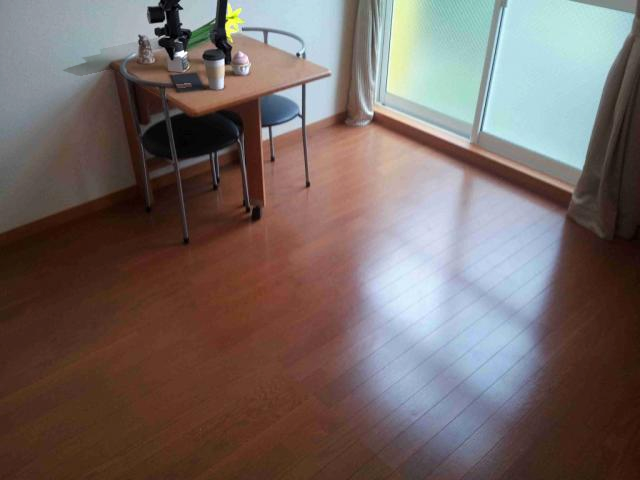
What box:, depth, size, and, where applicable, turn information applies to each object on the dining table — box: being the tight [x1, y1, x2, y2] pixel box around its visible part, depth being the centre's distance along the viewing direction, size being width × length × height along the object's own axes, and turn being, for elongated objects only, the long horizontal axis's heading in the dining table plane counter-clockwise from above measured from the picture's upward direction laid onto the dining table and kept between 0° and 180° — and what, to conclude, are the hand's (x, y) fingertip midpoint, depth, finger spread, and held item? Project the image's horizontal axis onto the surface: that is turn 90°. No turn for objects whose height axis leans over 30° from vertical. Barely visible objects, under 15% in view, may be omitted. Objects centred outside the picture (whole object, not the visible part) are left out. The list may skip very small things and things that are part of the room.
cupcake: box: [229, 50, 252, 77], centre depth 253 cm, size 9×9×10 cm
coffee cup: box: [201, 48, 226, 91], centre depth 238 cm, size 9×9×15 cm
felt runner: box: [170, 71, 206, 93], centre depth 246 cm, size 11×20×1 cm, turn 20°
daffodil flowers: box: [177, 2, 246, 52], centre depth 283 cm, size 17×15×35 cm
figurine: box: [137, 33, 156, 65], centre depth 262 cm, size 7×7×12 cm
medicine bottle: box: [166, 40, 190, 74], centre depth 255 cm, size 7×7×12 cm
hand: (177, 57), depth 255 cm, fingers open, 9 cm apart
